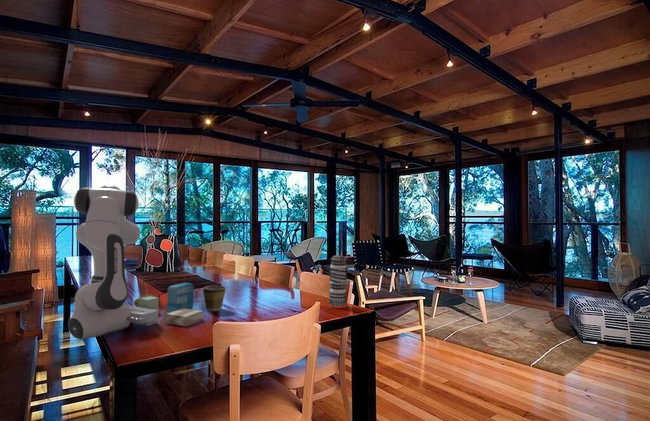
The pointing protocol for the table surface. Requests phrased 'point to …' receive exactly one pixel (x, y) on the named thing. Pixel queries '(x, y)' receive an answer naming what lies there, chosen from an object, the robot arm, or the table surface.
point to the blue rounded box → (180, 297)
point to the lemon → (142, 297)
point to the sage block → (149, 306)
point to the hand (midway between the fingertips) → (150, 308)
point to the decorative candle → (338, 281)
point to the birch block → (184, 317)
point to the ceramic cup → (214, 297)
